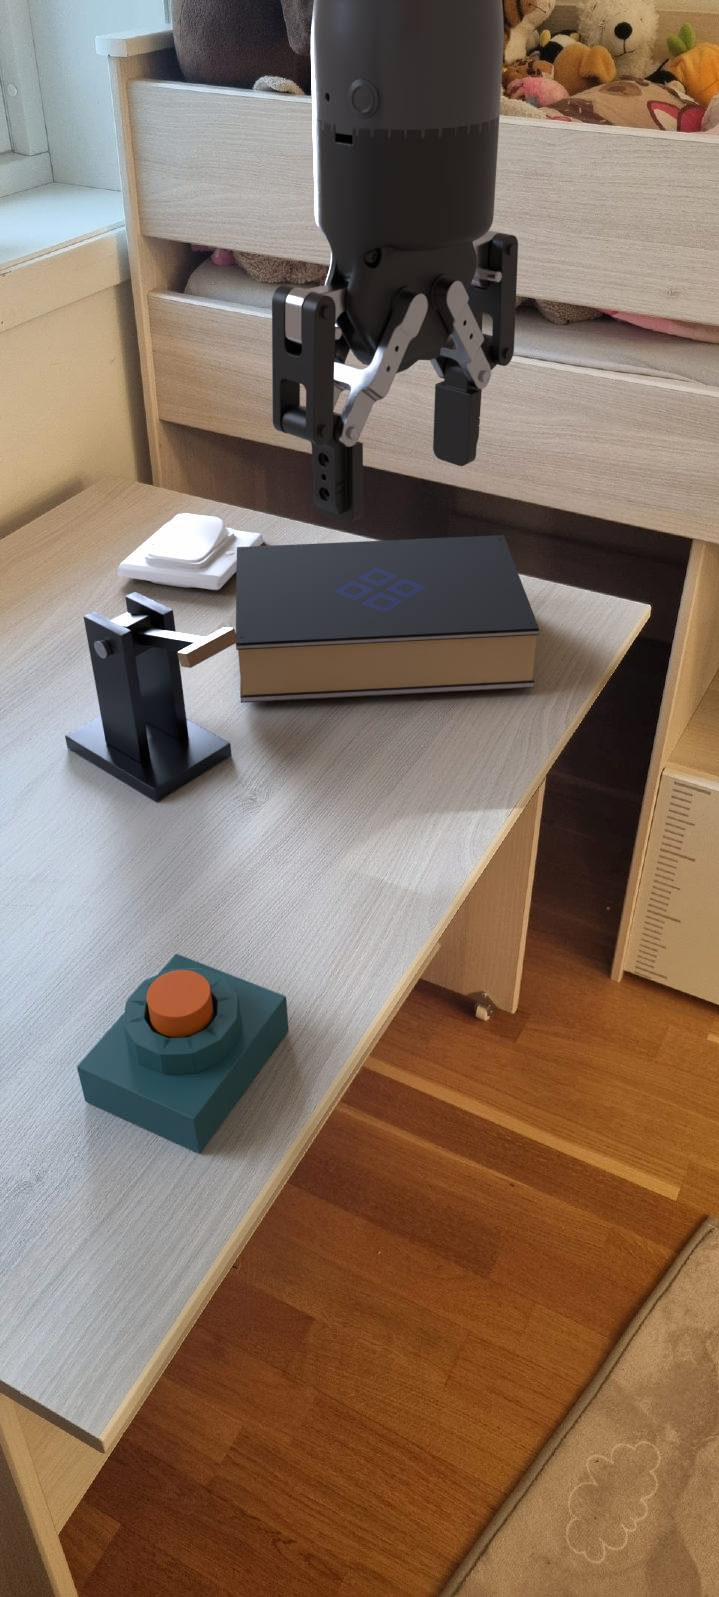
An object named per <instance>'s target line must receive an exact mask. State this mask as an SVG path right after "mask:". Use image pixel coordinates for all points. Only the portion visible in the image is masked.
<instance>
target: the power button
mask: <svg viewBox="0 0 719 1597" xmlns="http://www.w3.org/2000/svg"><path fill="white" fill-rule="evenodd" d="M147 1003H148V1009H149V1014H150V1020H151V1023H152V1025H153V1027H154V1028H155V1029H156V1030H157V1031H158V1032H160V1033H161V1034H163V1035H166V1036H169V1037H175V1038H180V1037H187V1036H191V1035H193V1034H196V1033H198V1032H199V1031H201V1030H202V1029H204V1028H205V1027H206V1026H207V1025H208V1023H209V1022H210V1020H211V1018H212V1015H213V1005H212V997H211V989H210V985H209V983H208V981H207V980H206V979H205V978H204V977H203V976H202V975H200V974H198V973H196V972H193V971H187V970H178V971H172V972H169V973H166V974H164V975H162V976H160V977H159V978H157V979H156V980H155V981H154V982H153V983H152V984H151V986H150V987H149V990H148V992H147Z"/></svg>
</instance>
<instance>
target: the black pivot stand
mask: <svg viewBox="0 0 719 1597" xmlns="http://www.w3.org/2000/svg"><path fill="white" fill-rule="evenodd" d="M124 598H125V604H126V610H127V612H126V613H134V614H141V615H147V616H149V618H150V621H151V624H152V627H153V628H154V629H161V630H167V631H173V632H177V631H176V623H175V615H174V610H173V609H172V608H170V607H168V606H167V605H165V604H162V603H159V602H157V601H155V600H153V599H152V598H149V597H147V596H145V595H143V594H141V593H138V592H137V591H133V592H131V593H129V594H127V595H125V596H124ZM111 620H112V619H109V618H107V617H105V616H103V615H101V614H99V613H97V612H95V611H92V612H90V613H87V614H85V615H84V616H83V622H84V628H85V633H86V639H87V644H88V651H89V655H90V662H91V667H92V673H93V679H94V684H95V690H96V695H97V696H96V697H97V702H98V708H99V712H100V713H99V714H100V716H98V717H96V718H94V719H92V720H90V721H89V722H87V723H85V724H83V725H82V726H80V727H78V728H76V729H74V730H72V731H70V732H69V733H67V734H65V735H64V738H65V743H66V748H67V750H70V751H71V752H73V753H75V754H76V755H78V756H79V757H81V758H83V759H84V760H86V761H88V762H89V763H91V764H92V765H94V766H95V767H97V768H99V769H101V770H102V771H104V772H106V773H107V774H109V775H111V776H112V777H113V778H116V779H117V780H119V781H121V782H122V783H124V784H125V785H126V786H129V787H130V788H132V789H134V790H135V791H137V792H138V793H140V794H142V795H143V796H145V797H147V798H148V799H150V800H151V801H153V802H155V803H158V802H160V801H162V800H163V799H164V798H166V797H168V796H170V795H172V794H173V793H174V792H176V791H178V790H179V789H181V788H183V787H184V786H186V785H187V784H189V783H190V782H192V781H194V780H195V779H197V778H198V777H200V776H202V775H203V774H205V773H206V772H208V771H209V770H211V769H213V768H214V767H216V766H218V765H219V764H221V763H223V762H224V761H226V760H227V759H229V758H230V757H232V746H231V742H229V741H228V740H226V739H224V738H222V737H220V736H218V735H217V734H216V733H214V732H211V731H209V730H207V729H205V728H204V727H202V726H201V725H198V724H196V723H194V722H193V721H191V720H189V719H187V712H186V705H185V704H186V703H185V695H184V689H183V679H182V672H181V664H180V661H179V657H178V654H177V651H171V650H166V649H160V648H155V647H152V648H150V649H148V650H147V651H145V652H143V653H141V654H139V655H137V656H135V651H134V644H133V637H132V631H131V630H129V629H127V628H125V627H123V626H121V625H119V624H117V623H115V622H113V621H111Z"/></svg>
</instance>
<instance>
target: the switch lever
mask: <svg viewBox="0 0 719 1597" xmlns="http://www.w3.org/2000/svg"><path fill="white" fill-rule="evenodd" d="M110 620H111V621H113V622H115V623H117V624H119V625H121V626H123V627H125V628H127V629H129V630H131V631H132V637H133V644H134V651H135V656H137V655H139V654H141V653H143V652H145V651H147V650H148V649H150V648H152V647H155V648H160V649H166V650H171V651H177V654H178V657H179V663H180V667H183V668H187V669H191V668H194V667H195V666H197V665H199V664H201V663H202V662H204V661H206V660H208V659H210V658H212V657H214V656H215V655H217V654H219V653H220V652H223V651H224V650H227V649H229V648H230V647H232V646H234V645H236V643H237V642H238V640H237V636H236V628H234V627H228V626H224V627H221V628H220V629H218V630H216V631H214V632H213V633H210V634H209V635H207V636H203V635H196V634H192V633H185V632H178V631H176V632H173V631H167V630H161V629H154V628H153V627H152V624H151V621H150V618H149V616H147V615H141V614H134V613H128V612H125V613H123V614H120V615H119V616H116V617H115V618H113V619H110Z"/></svg>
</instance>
